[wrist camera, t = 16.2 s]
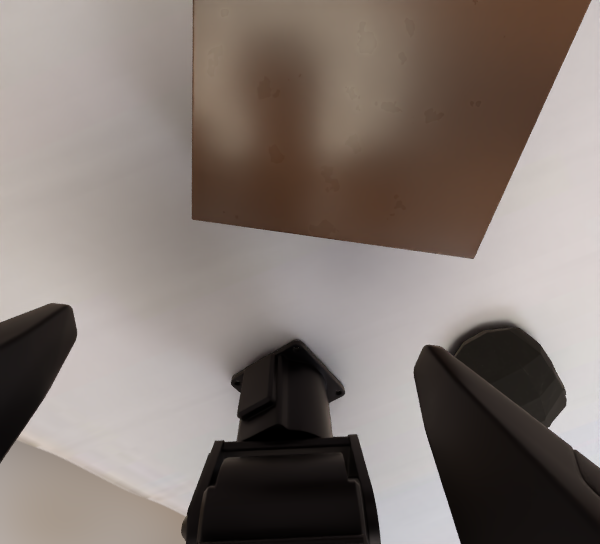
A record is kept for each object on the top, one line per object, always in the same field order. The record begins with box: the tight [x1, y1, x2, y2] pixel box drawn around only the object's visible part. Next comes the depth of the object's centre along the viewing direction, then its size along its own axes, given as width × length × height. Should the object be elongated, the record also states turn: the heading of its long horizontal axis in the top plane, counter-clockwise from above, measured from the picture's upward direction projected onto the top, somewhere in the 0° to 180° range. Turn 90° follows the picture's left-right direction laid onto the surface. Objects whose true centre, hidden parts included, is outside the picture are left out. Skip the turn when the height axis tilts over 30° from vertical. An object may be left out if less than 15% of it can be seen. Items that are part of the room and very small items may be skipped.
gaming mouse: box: [454, 327, 567, 428], centre depth 25 cm, size 6×15×4 cm, turn 40°
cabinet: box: [192, 0, 591, 259], centre depth 13 cm, size 14×12×6 cm
